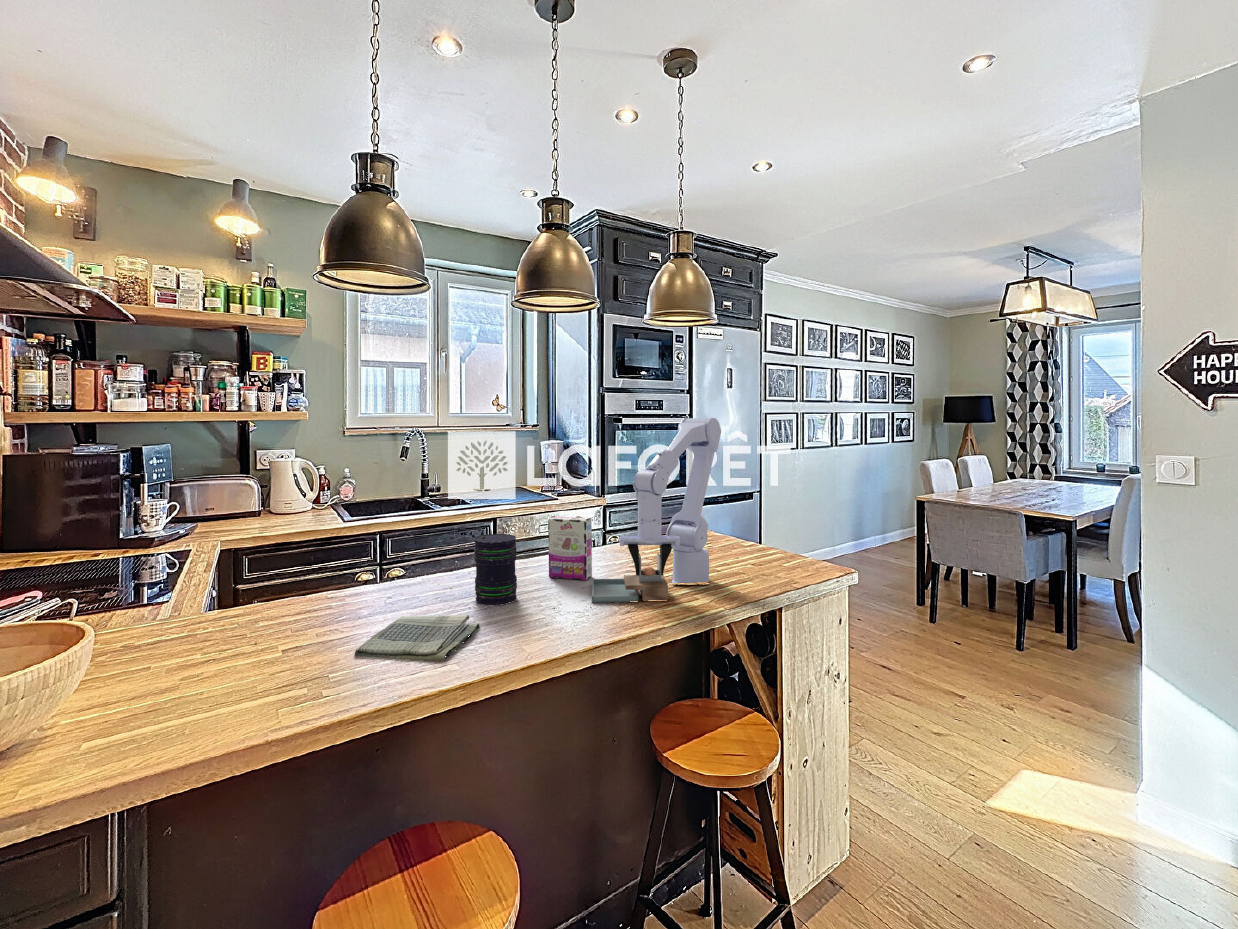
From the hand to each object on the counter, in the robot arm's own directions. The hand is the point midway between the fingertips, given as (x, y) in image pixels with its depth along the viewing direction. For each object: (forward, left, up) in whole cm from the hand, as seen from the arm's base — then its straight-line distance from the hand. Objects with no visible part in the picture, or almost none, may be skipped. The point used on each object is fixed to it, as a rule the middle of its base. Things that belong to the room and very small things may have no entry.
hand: (649, 574), depth 142 cm
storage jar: (+37, +1, -6) cm, 37 cm away
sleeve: (0, 0, -1) cm, 1 cm away
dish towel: (+47, +27, -6) cm, 55 cm away
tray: (+8, -3, -5) cm, 10 cm away
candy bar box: (+20, -18, -6) cm, 27 cm away
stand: (0, 0, -5) cm, 5 cm away
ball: (0, 0, 0) cm, 0 cm away
